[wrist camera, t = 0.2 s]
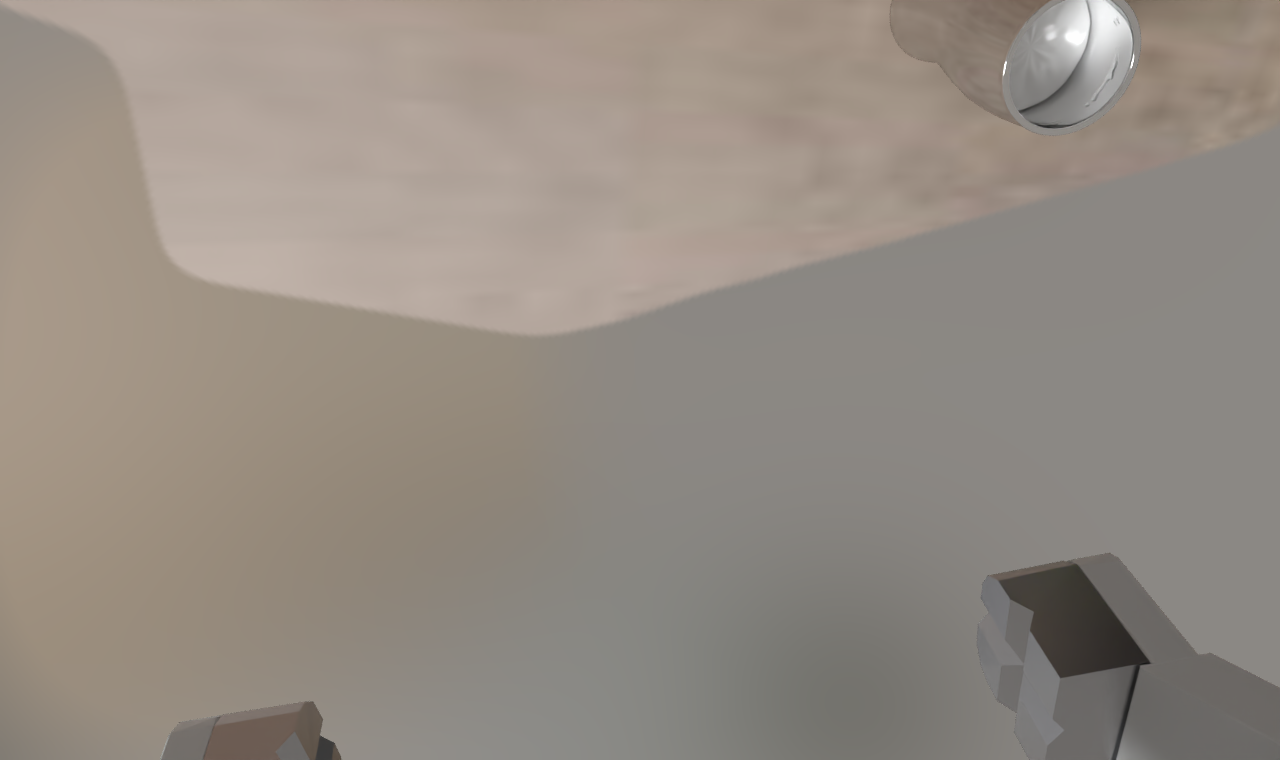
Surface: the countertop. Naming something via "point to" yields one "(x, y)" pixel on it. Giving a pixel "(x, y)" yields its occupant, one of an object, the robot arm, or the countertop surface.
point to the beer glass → (1027, 55)
